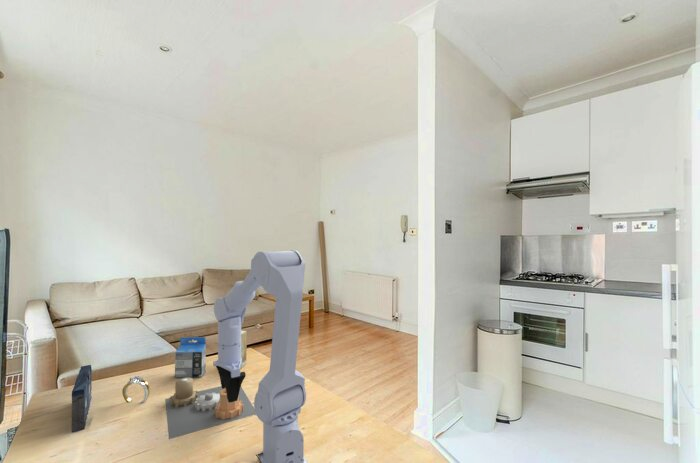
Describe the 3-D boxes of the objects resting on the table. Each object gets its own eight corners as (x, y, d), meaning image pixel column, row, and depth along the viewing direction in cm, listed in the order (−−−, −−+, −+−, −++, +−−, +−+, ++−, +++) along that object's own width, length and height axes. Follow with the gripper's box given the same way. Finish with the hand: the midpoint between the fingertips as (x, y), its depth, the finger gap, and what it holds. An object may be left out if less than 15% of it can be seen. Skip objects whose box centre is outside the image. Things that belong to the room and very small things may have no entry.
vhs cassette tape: (80, 400, 94) (80, 365, 94) (93, 398, 95) (94, 363, 95) (68, 434, 78) (69, 392, 78) (84, 430, 80) (84, 389, 80)
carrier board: (257, 418, 85) (257, 391, 85) (169, 444, 74) (169, 413, 74) (238, 386, 103) (238, 363, 103) (165, 403, 92) (165, 378, 92)
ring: (119, 408, 90) (120, 378, 90) (129, 402, 93) (129, 373, 93) (142, 410, 89) (143, 380, 89) (151, 403, 92) (151, 375, 92)
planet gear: (246, 414, 84) (246, 392, 85) (217, 422, 81) (217, 400, 81) (239, 402, 90) (239, 382, 90) (212, 409, 87) (213, 388, 87)
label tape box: (174, 378, 108) (174, 341, 108) (179, 373, 112) (179, 337, 112) (201, 377, 109) (201, 340, 109) (206, 372, 113) (206, 336, 113)
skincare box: (237, 371, 114) (237, 335, 114) (226, 370, 115) (226, 335, 115) (247, 363, 120) (247, 330, 120) (236, 362, 121) (236, 329, 121)
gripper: (209, 337, 90) (208, 387, 90) (218, 354, 78) (218, 411, 77) (235, 333, 94) (235, 381, 93) (248, 348, 81) (248, 403, 81)
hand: (229, 394), depth 86 cm, fingers open, 7 cm apart
